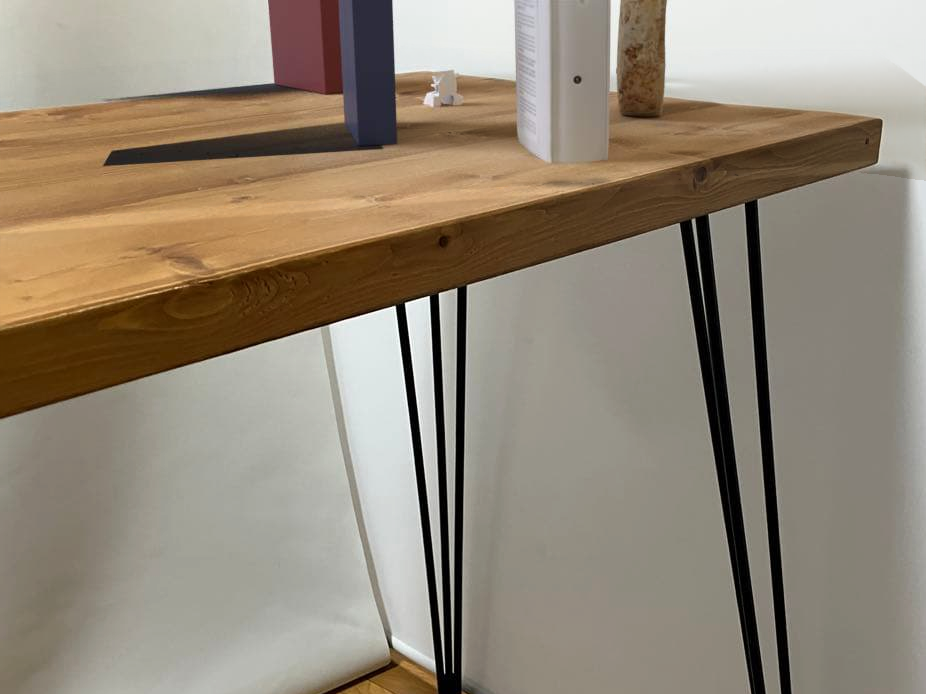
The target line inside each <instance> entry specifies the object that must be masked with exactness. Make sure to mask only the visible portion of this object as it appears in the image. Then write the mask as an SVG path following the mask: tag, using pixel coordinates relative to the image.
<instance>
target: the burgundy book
mask: <svg viewBox="0 0 926 694" xmlns="http://www.w3.org/2000/svg"><path fill="white" fill-rule="evenodd" d="M267 4H268V18H269V19H268V20H269V31H270V43H271V44H270V46H271V58H272V69H273V83H274V84H275V85H280V87H281V86H285V87H287V88H289V87H290V88H291V89H292V88H294V89H295V88H296V89H297V90H298V89H299V90H300V91H302V90H303V91H306V92H311V93H316V94H321V95H329V94H330V95H336V94H337V95H338V94H343V81H342V61H341V41H340V22H339V2H338V0H267ZM285 87H284V88H285ZM290 88H289V89H290Z"/></svg>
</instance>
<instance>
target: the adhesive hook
mask: <svg viewBox="0 0 926 694" xmlns="http://www.w3.org/2000/svg"><path fill="white" fill-rule="evenodd" d="M459 77H461V74H460V72H455V70H454V69H449V70H439V71H435V75H432V76H431V78H432V80H433V83H430V87H432V88H434V90H433V91H430V92H427V93H426V95H425V97H424V99H423V103H422V105H425V106H429V107H431V108H438V107H441V106H442V104H444V105H452V106H461V105H463V101H464V96H463V95H461V94H460V93H458V92H457V91H458V86H457V78H459Z"/></svg>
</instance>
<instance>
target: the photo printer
mask: <svg viewBox="0 0 926 694" xmlns="http://www.w3.org/2000/svg"><path fill="white" fill-rule="evenodd" d="M513 1H514V2H513V3H514V46H515V47H514V48H515V99H516V101H515V104H516V108H515V109H516V133H517V139H518V140H517V141H518V143H520V144H521V145H522V146H523V147H524V148H525V149H526V150H527V151H529V152H531V154H533V155H534V156H535V157H537V158H539V159H540V160H542V161H544V162H546V163H549V164H589V163H595V162H599V161H607V160H608V157H609V148H610V105H611V104H610V99H611V98H610V97H611V95H610V94H611V93H610V92H611V91H610V90H611V17H612V16H611V14H612V13H611V12H612V11H611V9H612V4H611V3H612V1H611V0H513Z"/></svg>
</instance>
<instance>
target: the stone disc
mask: <svg viewBox="0 0 926 694" xmlns="http://www.w3.org/2000/svg"><path fill="white" fill-rule="evenodd" d="M619 3H620V4H619V16H618V17H619V18H618V30H617V48H616V68H615V73H616V94H617V102H618V103H617V107H618V112H619V113H620V114H621V115H623V116H627V117H640V118H641V117H642V118H658V117H662V115H663V109H664V97H665V83H666V67H667V66H666V23H667V22H666V21H667V19H666V18H667V5H668V0H620V2H619Z"/></svg>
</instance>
